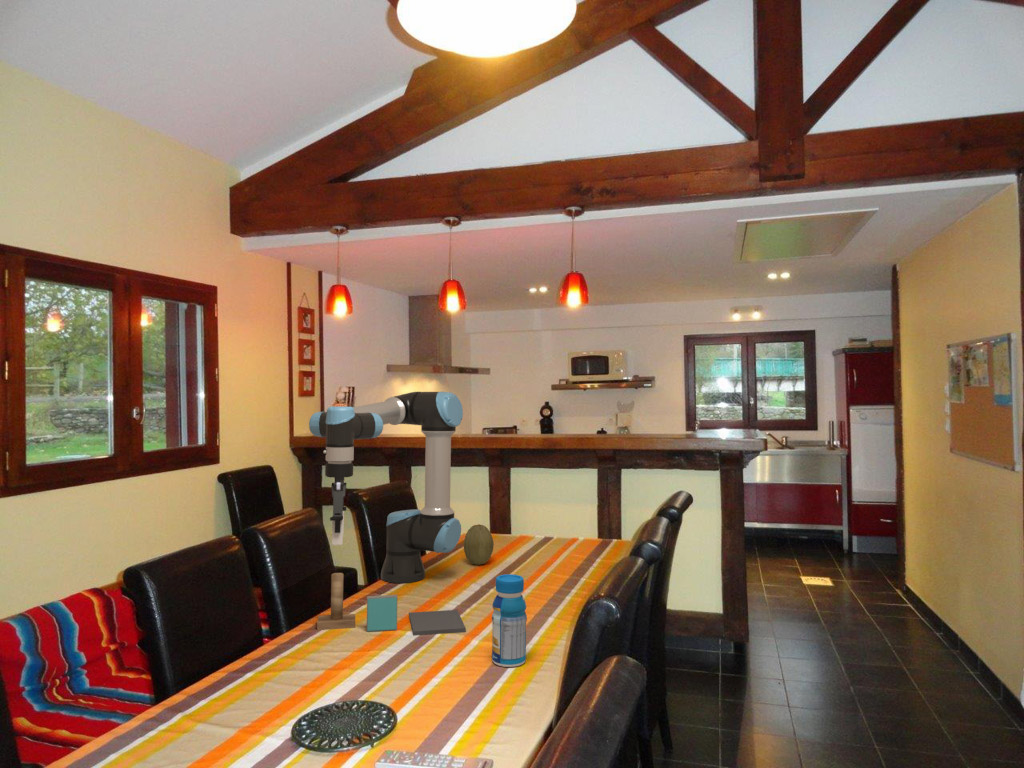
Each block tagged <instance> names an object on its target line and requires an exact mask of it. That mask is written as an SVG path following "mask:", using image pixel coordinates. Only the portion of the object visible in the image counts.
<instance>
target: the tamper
mask: <svg viewBox="0 0 1024 768" xmlns="http://www.w3.org/2000/svg"><path fill="white" fill-rule="evenodd" d="M330 579H331V582H330V583H331V584H330V585H331V587H330V593H331V594H330V614H328V615H318V617H317V622H316V624H317V625H316V626H317V627H316V630H317V631H326V630H340V629H341V630H342V629H354V628H356V613H345V614H344V573H343V572H334V573H332V574H331V578H330Z"/></svg>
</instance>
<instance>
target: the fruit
mask: <svg viewBox="0 0 1024 768" xmlns="http://www.w3.org/2000/svg"><path fill="white" fill-rule="evenodd" d="M494 546H495V545H494V539H493V536H492V533H491V531H490V530H489V529H488V527H487V526H486V525H483V524H479V523H478V524H474V525H472V526H471V527H470V528H469V529H468V530H467V532H466V533H465V536H464V541H463V551H464V552H463V553H464V556H465V557H466V559H467V561H468V562H470V563H471V564H473V565H480V566H481V565H484V564H486V563H487V562H488V561H489V560H490V558H491V557H492V554H493V551H494Z"/></svg>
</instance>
